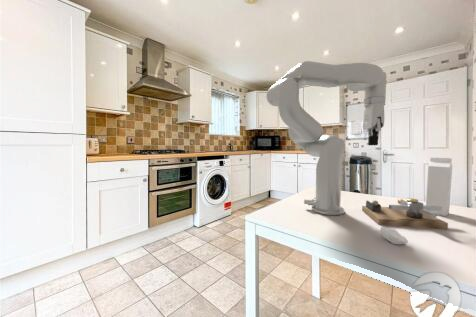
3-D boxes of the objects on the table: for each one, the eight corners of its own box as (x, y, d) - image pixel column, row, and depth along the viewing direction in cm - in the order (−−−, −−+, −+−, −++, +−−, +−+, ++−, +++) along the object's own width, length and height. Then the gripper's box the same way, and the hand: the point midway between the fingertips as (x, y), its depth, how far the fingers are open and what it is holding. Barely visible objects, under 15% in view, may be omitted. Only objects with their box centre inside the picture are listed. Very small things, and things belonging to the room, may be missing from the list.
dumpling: (374, 238, 61) (375, 225, 61) (387, 235, 63) (388, 223, 62) (399, 250, 54) (400, 235, 54) (413, 246, 56) (413, 232, 56)
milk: (446, 216, 78) (450, 158, 76) (425, 212, 83) (428, 157, 81) (449, 213, 81) (453, 157, 80) (428, 209, 86) (432, 157, 84)
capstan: (461, 226, 63) (462, 208, 63) (405, 224, 65) (406, 206, 65) (421, 209, 79) (422, 195, 79) (377, 208, 81) (377, 194, 81)
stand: (378, 224, 71) (379, 207, 70) (362, 210, 85) (362, 196, 85) (447, 229, 67) (448, 211, 66) (417, 213, 81) (418, 198, 81)
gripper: (358, 105, 96) (357, 145, 97) (372, 99, 82) (370, 145, 83) (376, 105, 94) (375, 145, 96) (393, 98, 80) (391, 145, 81)
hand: (373, 145), depth 89 cm, fingers closed
